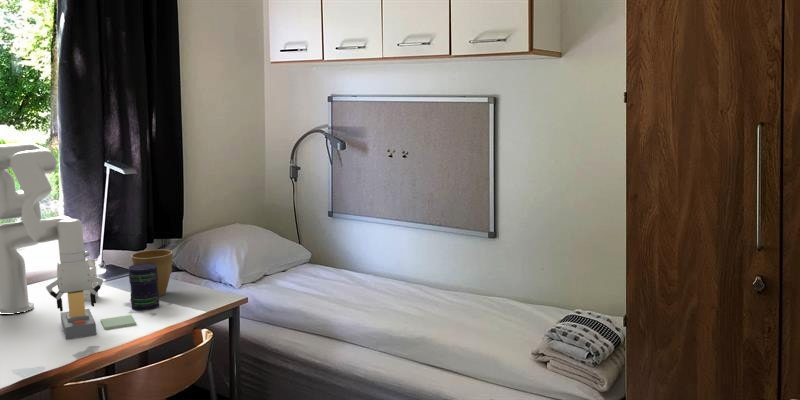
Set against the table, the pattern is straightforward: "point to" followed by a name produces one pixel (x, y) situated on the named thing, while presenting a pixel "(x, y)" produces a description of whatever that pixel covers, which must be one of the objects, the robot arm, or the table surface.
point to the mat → (118, 322)
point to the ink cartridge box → (94, 283)
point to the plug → (76, 306)
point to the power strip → (78, 326)
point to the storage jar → (144, 286)
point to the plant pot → (163, 265)
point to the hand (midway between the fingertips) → (77, 307)
